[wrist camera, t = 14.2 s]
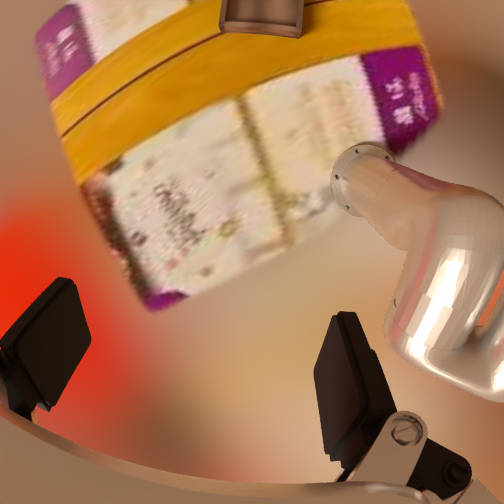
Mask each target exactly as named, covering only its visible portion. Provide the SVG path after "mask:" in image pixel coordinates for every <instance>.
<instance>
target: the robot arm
mask: <svg viewBox="0 0 504 504" xmlns="http://www.w3.org/2000/svg"><path fill="white" fill-rule="evenodd" d="M356 149H357V152H355V150H356ZM385 156H386V159H385ZM335 175H337V177H335ZM331 187H332V192H333V195H334V197H335V199H336V201H337V202H338V204H339V205H340V206H341V207H342V208H343V209H344V210H345V211H346V212H348V213H349V214H351V215H354V216H357V217H362V218H365V219H366V220H367V221H368V222H369V223H370V224H371V225H372V226H373V227H374V228H375V229H376V230H377V232H378V233H379V234H380V235H381V236H382V237H383V238H384V239H385V240H386V241H387V242H388V243H389V244H391V245H392V246H393V247H396V248H397V249H400V250H403V251H408V252H407V256H406V258H405V262H404V264H403V269H402V272H401V275H400V277H399V280H398V283H397V285H396V288H395V291H394V293H393V296H392V299H391V301H390V304H389V307H388V309H387V312H386V315H385V318H384V323H383V334H384V337H385V340H386V342H387V344H388V346H389V347H390V349H391V350H392V351H393V352H394V353H395V354H396V355H397V356H399V358H401V359H402V360H404V361H405V362H407V363H408V364H410V365H412V366H414V367H415V368H417V369H419V370H421V371H423V372H425V373H428V374H430V375H432V376H434V377H436V378H438V379H441V380H443V381H445V382H447V383H449V384H451V385H454V386H456V387H458V388H460V389H463V390H465V391H467V392H470V393H472V394H474V395H476V396H479V397H481V398H484V399H486V400H489V401H493V402H504V288H503V290H502V293H501V295H500V297H499V299H498V301H497V303H496V305H495V307H494V309H493V310H492V312H491V314H490V316H489V318H488V320H487V322H486V323H485V324H484V325H482V326H478V325H476V324H477V322H478V320H479V319H480V317H481V315H482V313H483V311H484V309H485V308H486V306H487V304H488V302H489V300H490V298H491V296H492V294H493V292H494V290H495V287H496V285H497V283H498V281H499V278H500V276H501V274H502V271H503V269H504V206H503V205H502V204H501V203H500V202H499V201H498V200H497V199H495V198H494V197H493V196H491V195H489V194H488V193H486V192H484V191H482V190H478V189H475V188H473V187H469V186H464V185H459V184H454V183H449V182H445V181H441V180H438V179H435V178H433V177H430V176H427V175H425V174H422V173H420V172H417V171H415V170H412V169H410V168H407V167H405V166H402V165H400V164H397V163H396V162H395V160H394V159H393V157H392V156H391V155H390V154H389V153H388V152H387V151H385V150H383V149H382V148H380V147H377V146H374V145H369V144H362V145H357V146H354V147H352V148H349V149H348V150H347V151H345V152H344V153H343V154H342V155H341V156H340V157H339V158H338V160H337V161H336V163H335V165H334V168H333V170H332V175H331ZM346 205H348V206H347V207H346ZM90 343H91V334H90V331H89V328H88V325H87V322H86V319H85V316H84V312H83V308H82V305H81V301H80V297H79V294H78V290H77V286H76V285H75V284H74V282H73V280H71V279H68V278H63V277H58V278H56V279H55V280H54V281H53V282H52V283H51V284H50V285H49V287H47V288H46V289H45V290H44V291H43V292H42V293H41V295H40V296H39V297H38V298H37V299H36V300H35V301H34V302H33V303H32V304H31V305H30V306H29V307H28V308H27V310H25V312H24V313H23V314H22V315H21V316H20V317H19V318H18V319H17V321H16V322H15V323H14V324H13V325H12V326H11V327H10V329H9V330H8V331H7V332H6V333H5V334H4V336H3V337H2V338H1V339H0V347H1V350H0V504H501V502H500V501H499V500H498V499H497V498H496V497H495V496H494V495H493V494H492V493H491V492H489V490H487V488H486V487H485V486H484V485H483V484H482V483H481V482H480V481H479V480H478V479H477V478H475V479H472V478H471V476H472V470H471V467H470V464H469V463H468V461H467V460H466V459H465V458H463V457H462V456H460V455H458V454H456V453H454V452H452V451H451V450H448V449H447V448H445V447H443V446H441V445H439V444H438V443H436V442H434V441H432V440H430V439H429V438H427V434H428V432H427V427H426V424H425V422H424V421H423V420H422V419H421V417H419V416H418V415H416V414H415V413H412V412H409V411H399V412H397V409H396V406H395V403H394V400H393V398H392V395H391V392H390V389H389V387H388V383H387V381H386V378H385V375H384V373H383V370H382V367H381V365H380V362H379V360H378V357H377V354H376V353H375V351H374V350H373V349H370V346H369V344H368V341H367V338H366V336H365V333H364V331H363V329H362V326H361V324H360V321H359V319H358V316H357V314H356V313H355V312H344V311H340V312H338V314H337V315H333V316H332V318H331V322H330V324H329V328H328V330H327V334H326V336H325V339H324V342H323V345H322V348H321V350H320V353H319V356H318V359H317V362H316V364H315V367H314V381H315V388H316V394H317V401H318V408H319V414H320V422H321V429H322V436H323V444H324V451H325V454H330V461H341V467H342V468H343V470H342V471H341V473H340V474H339V475H338V477H337V478H336V479H335V481H334V482H330V483H307V484H265V483H243V482H231V481H221V480H212V479H205V478H199V477H192V476H187V475H181V474H176V473H171V472H166V471H162V470H157V469H153V468H149V467H145V466H141V465H138V464H134V463H131V462H127V461H124V460H121V459H118V458H114V457H111V456H108V455H106V454H103V453H100V452H97V451H95V450H92V449H89V448H87V447H84V446H82V445H79V444H77V443H74V442H72V441H70V440H67V439H65V438H63V437H61V436H58V435H56V434H54V433H52V432H50V431H48V430H46V429H44V428H42V427H40V426H38V421H37V417H36V412H35V407H36V405H38V407H40V408H42V409H43V410H46V411H48V412H49V411H50V410H51V408H52V406H55V405H56V403H57V402H58V399H59V398H60V396H61V394H62V392H63V390H64V388H65V387H66V385H67V383H68V381H69V380H70V378H71V376H72V374H73V373H74V371H75V369H76V367H77V365H78V364H79V362H80V361H81V359H82V357H83V355H84V354H85V352H86V351H87V349H88V347H89V345H90Z"/></svg>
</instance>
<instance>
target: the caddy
mask: <svg viewBox="0 0 504 504" xmlns="http://www.w3.org/2000/svg"><path fill="white" fill-rule="evenodd" d="M303 9H304V0H222V4H221V11H220V18H219V28H220V30H221V32H226V33H251V34H264V35H275V36H283V37H291V38H298V39H299V37H300V35H301V32H302V21H303Z"/></svg>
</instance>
